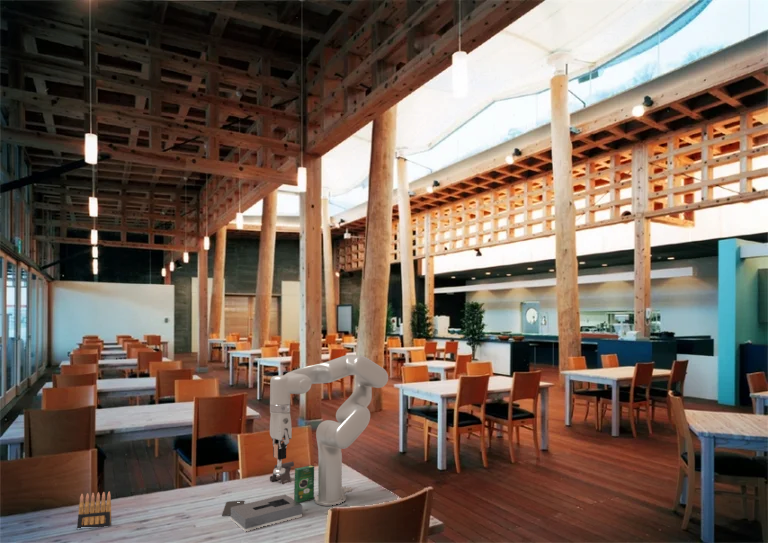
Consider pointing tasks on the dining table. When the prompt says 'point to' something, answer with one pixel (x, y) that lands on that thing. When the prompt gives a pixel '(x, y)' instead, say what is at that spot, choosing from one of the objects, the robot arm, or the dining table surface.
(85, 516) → the ammunition clip
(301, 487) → the coffee box
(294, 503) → the keyhole plate
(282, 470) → the peg
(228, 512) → the smartphone
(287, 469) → the portable electronic device stand
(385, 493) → the dining table surface
